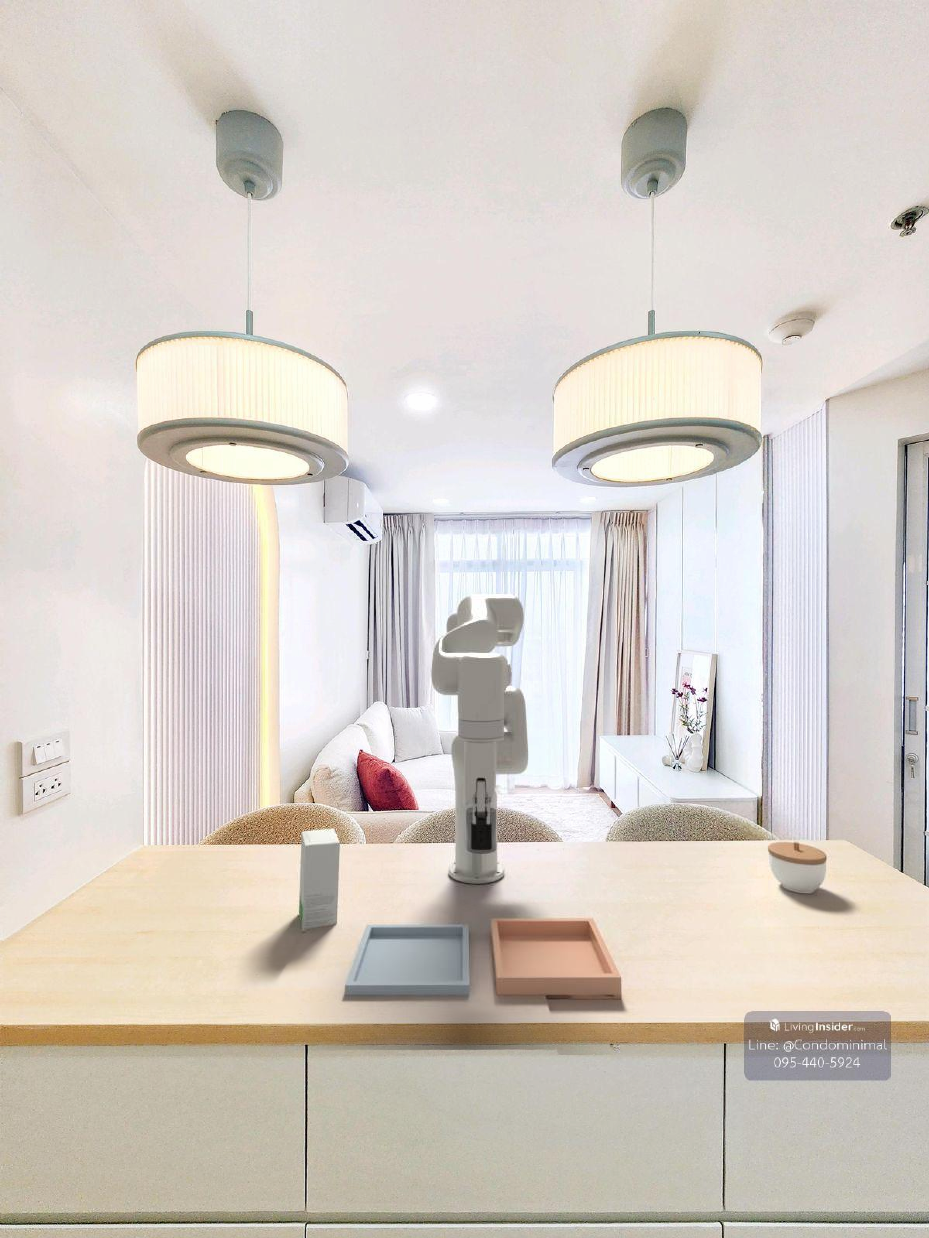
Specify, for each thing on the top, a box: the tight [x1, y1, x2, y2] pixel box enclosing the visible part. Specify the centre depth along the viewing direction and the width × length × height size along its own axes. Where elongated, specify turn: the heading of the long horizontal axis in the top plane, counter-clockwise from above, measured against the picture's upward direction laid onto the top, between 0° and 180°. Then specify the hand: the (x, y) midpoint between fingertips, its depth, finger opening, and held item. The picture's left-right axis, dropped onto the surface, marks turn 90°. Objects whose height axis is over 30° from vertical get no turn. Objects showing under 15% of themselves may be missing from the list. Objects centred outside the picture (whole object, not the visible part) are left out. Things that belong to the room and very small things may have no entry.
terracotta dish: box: [490, 917, 623, 1000], centre depth 90 cm, size 18×18×3 cm
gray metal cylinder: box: [466, 807, 498, 854], centre depth 91 cm, size 5×5×6 cm
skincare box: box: [298, 827, 341, 933], centre depth 106 cm, size 8×7×16 cm
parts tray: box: [344, 923, 470, 997], centre depth 90 cm, size 18×18×2 cm
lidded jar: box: [767, 841, 828, 895], centre depth 119 cm, size 11×11×9 cm
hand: (481, 841), depth 91 cm, fingers closed on gray metal cylinder, 5 cm apart
